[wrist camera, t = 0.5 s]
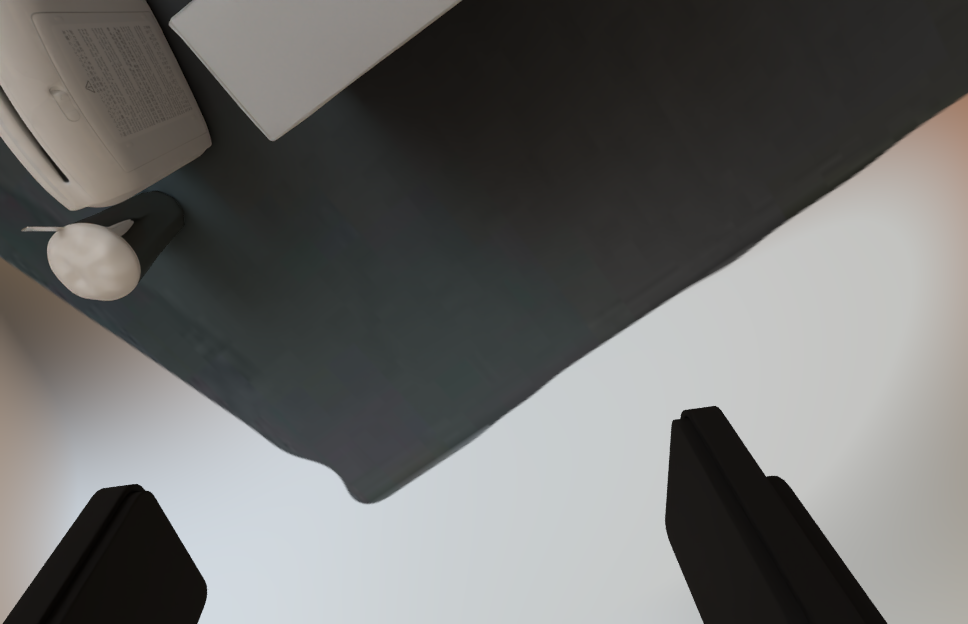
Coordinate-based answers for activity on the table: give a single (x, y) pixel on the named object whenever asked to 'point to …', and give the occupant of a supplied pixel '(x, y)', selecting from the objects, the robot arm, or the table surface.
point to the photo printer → (94, 99)
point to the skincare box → (297, 48)
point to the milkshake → (113, 245)
